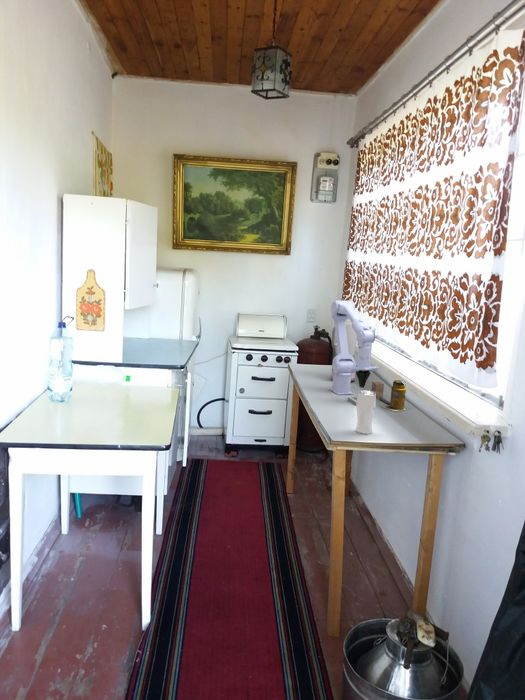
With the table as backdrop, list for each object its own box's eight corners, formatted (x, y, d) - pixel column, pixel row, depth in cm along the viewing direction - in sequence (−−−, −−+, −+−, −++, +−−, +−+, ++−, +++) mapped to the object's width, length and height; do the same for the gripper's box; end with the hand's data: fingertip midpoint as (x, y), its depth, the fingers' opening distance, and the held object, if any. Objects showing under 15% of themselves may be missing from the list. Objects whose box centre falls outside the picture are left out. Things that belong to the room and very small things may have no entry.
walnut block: (370, 396, 246) (372, 382, 245) (378, 396, 247) (379, 381, 246) (374, 398, 242) (376, 384, 241) (382, 398, 243) (383, 383, 242)
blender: (344, 376, 283) (348, 318, 277) (359, 382, 273) (364, 321, 267) (321, 379, 275) (325, 319, 269) (337, 385, 265) (341, 322, 259)
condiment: (408, 409, 228) (410, 382, 226) (394, 411, 223) (397, 384, 221) (395, 404, 234) (398, 378, 232) (382, 407, 229) (384, 380, 227)
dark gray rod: (378, 399, 242) (378, 396, 242) (380, 399, 242) (381, 396, 242) (388, 404, 233) (388, 402, 233) (390, 404, 233) (391, 402, 233)
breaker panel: (347, 400, 238) (347, 395, 238) (363, 399, 240) (363, 394, 240) (357, 406, 229) (357, 401, 228) (373, 405, 231) (374, 400, 230)
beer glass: (351, 431, 196) (354, 392, 193) (358, 427, 201) (362, 389, 198) (368, 435, 192) (372, 396, 189) (376, 431, 197) (379, 392, 195)
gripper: (353, 359, 225) (350, 389, 227) (383, 358, 229) (380, 388, 231) (346, 355, 231) (343, 385, 234) (375, 355, 235) (373, 384, 238)
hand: (361, 387), depth 233 cm, fingers closed
